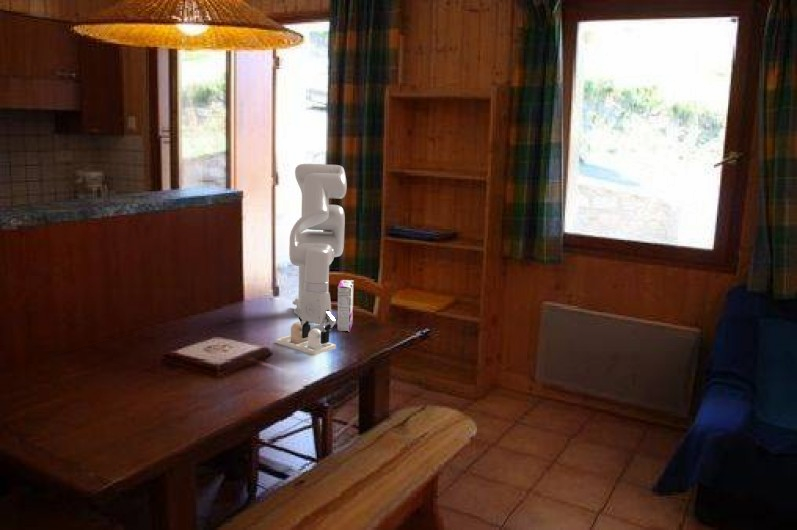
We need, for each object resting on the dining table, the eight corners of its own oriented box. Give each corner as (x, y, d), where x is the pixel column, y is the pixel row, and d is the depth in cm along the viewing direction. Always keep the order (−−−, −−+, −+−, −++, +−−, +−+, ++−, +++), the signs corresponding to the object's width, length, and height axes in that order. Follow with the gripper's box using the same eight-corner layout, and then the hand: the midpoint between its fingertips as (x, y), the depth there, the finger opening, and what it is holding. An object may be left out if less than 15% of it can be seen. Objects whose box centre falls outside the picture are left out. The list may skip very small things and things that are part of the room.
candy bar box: (339, 323, 264) (340, 279, 261) (352, 323, 264) (354, 280, 261) (335, 331, 253) (337, 286, 250) (350, 332, 253) (351, 287, 250)
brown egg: (289, 344, 234) (290, 323, 233) (290, 341, 239) (291, 320, 238) (304, 344, 234) (304, 323, 234) (304, 341, 239) (305, 321, 238)
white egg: (304, 349, 231) (305, 328, 230) (314, 346, 235) (315, 325, 233) (315, 352, 228) (315, 331, 227) (325, 349, 232) (325, 328, 230)
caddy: (276, 345, 235) (276, 339, 235) (297, 339, 243) (297, 333, 243) (314, 357, 225) (315, 351, 225) (335, 350, 232) (335, 344, 232)
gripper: (288, 283, 230) (287, 336, 233) (328, 293, 219) (327, 348, 223) (305, 280, 235) (304, 332, 239) (344, 289, 225) (343, 343, 228)
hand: (315, 339), depth 231 cm, fingers open, 7 cm apart
